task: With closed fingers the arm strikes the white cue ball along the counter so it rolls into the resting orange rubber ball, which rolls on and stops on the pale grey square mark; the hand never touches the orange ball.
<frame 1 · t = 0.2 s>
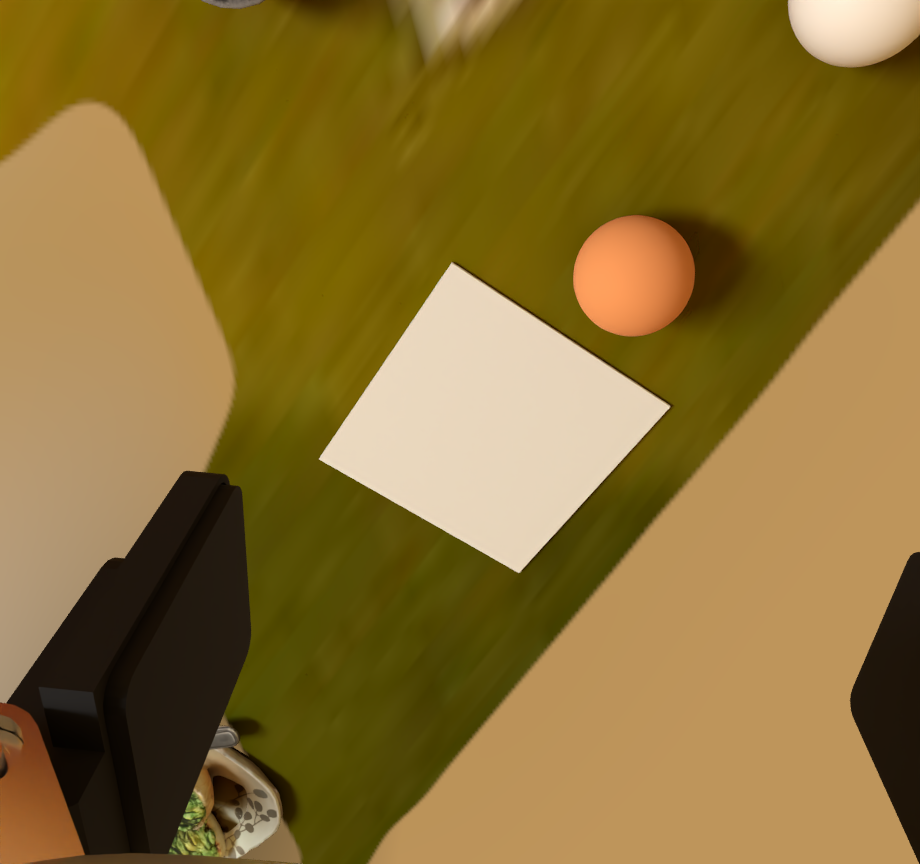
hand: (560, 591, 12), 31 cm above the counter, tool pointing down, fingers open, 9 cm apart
object ball: (633, 276, 38), on the counter
salad plate: (160, 784, 64), on the counter
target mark: (489, 432, 46), on the counter
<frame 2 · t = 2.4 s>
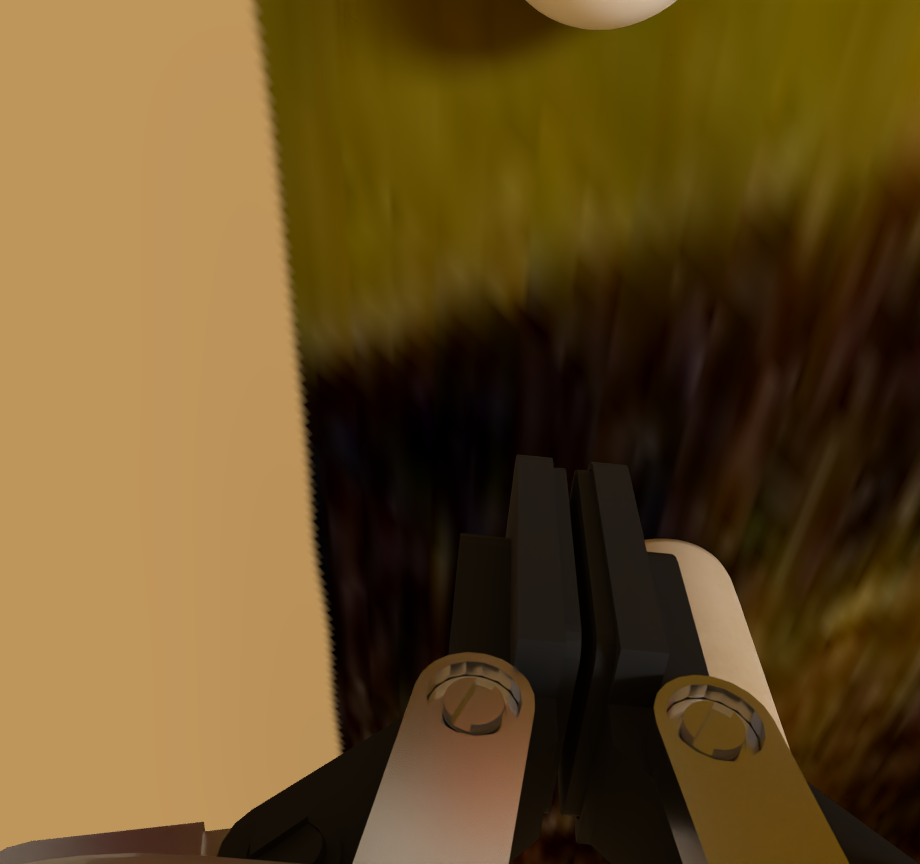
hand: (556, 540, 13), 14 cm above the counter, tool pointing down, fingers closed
candle: (656, 592, 31), on the counter
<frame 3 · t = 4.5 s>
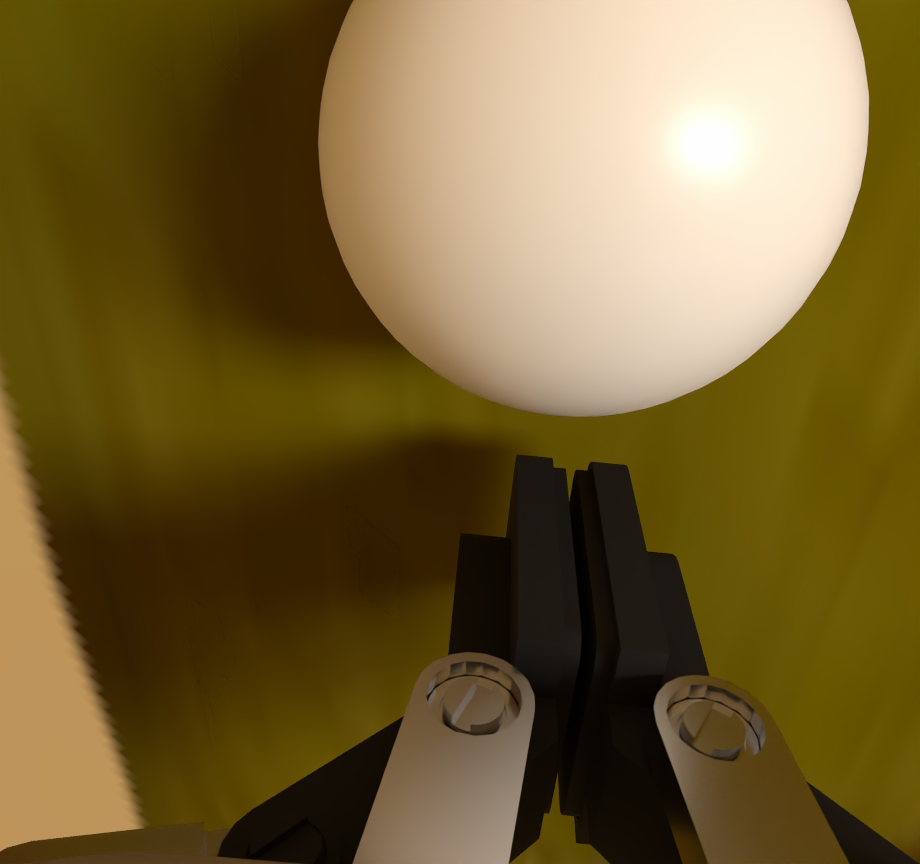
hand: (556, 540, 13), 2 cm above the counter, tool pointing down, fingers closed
cue ball: (580, 158, 9), on the counter
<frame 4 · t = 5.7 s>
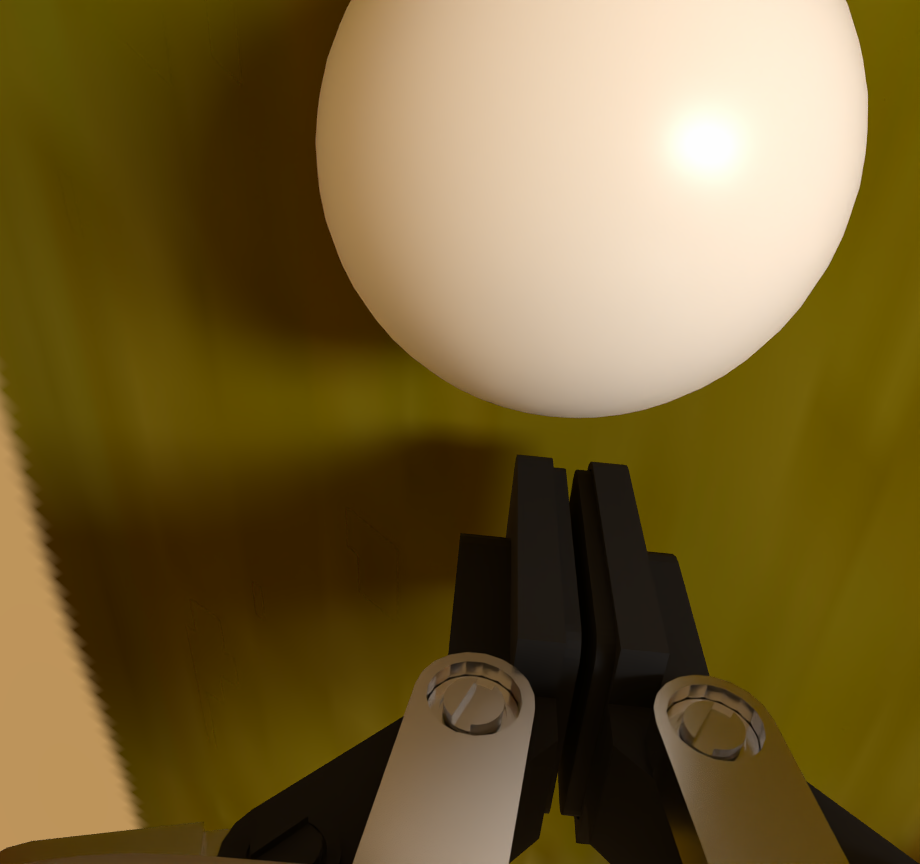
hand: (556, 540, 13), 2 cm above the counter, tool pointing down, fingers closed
cue ball: (578, 158, 9), on the counter
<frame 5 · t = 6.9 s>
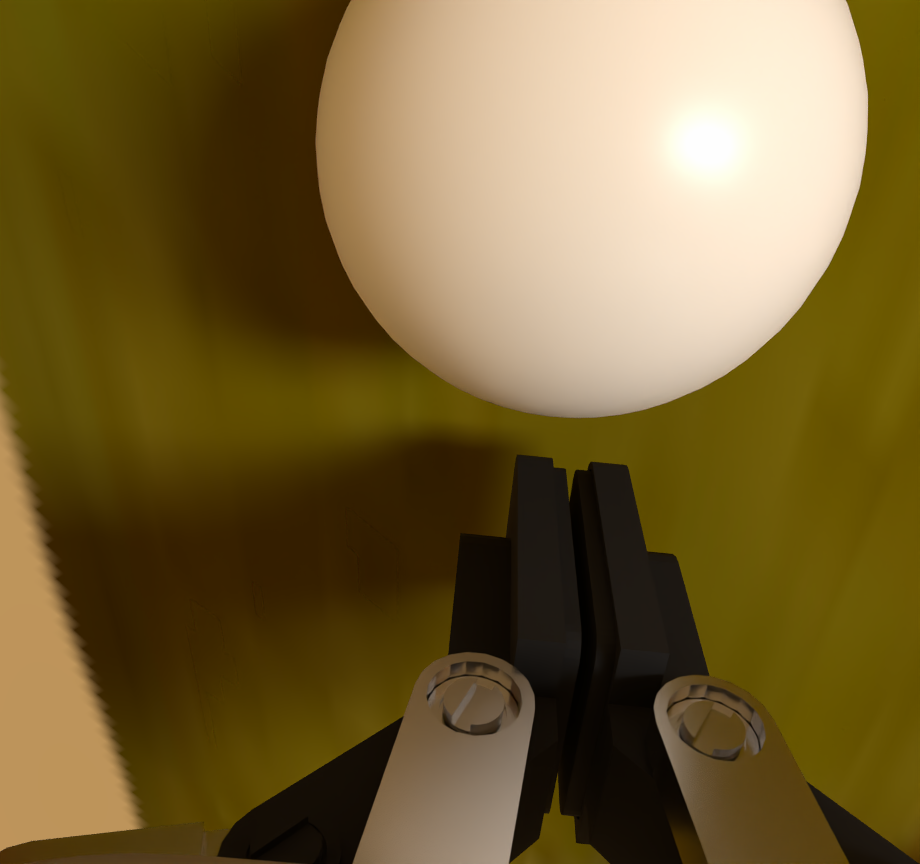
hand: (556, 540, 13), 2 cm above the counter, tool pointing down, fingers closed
cue ball: (578, 158, 9), on the counter
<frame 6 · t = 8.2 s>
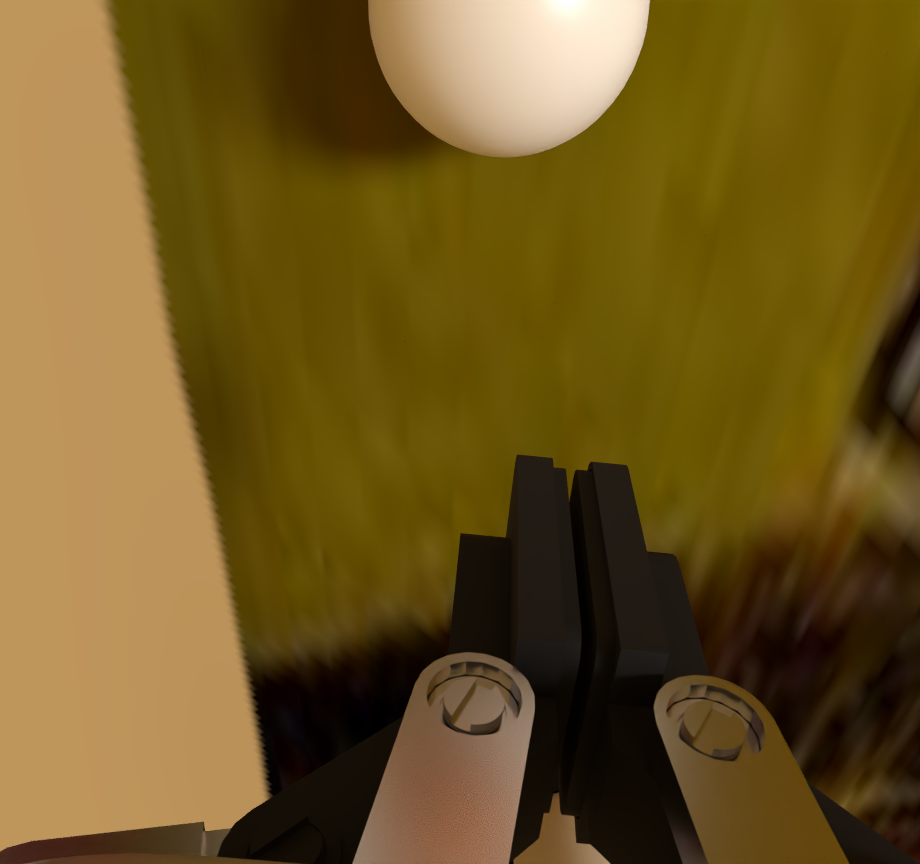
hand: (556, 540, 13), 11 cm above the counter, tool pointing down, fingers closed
candle: (577, 824, 35), on the counter
cue ball: (507, 10, 16), on the counter
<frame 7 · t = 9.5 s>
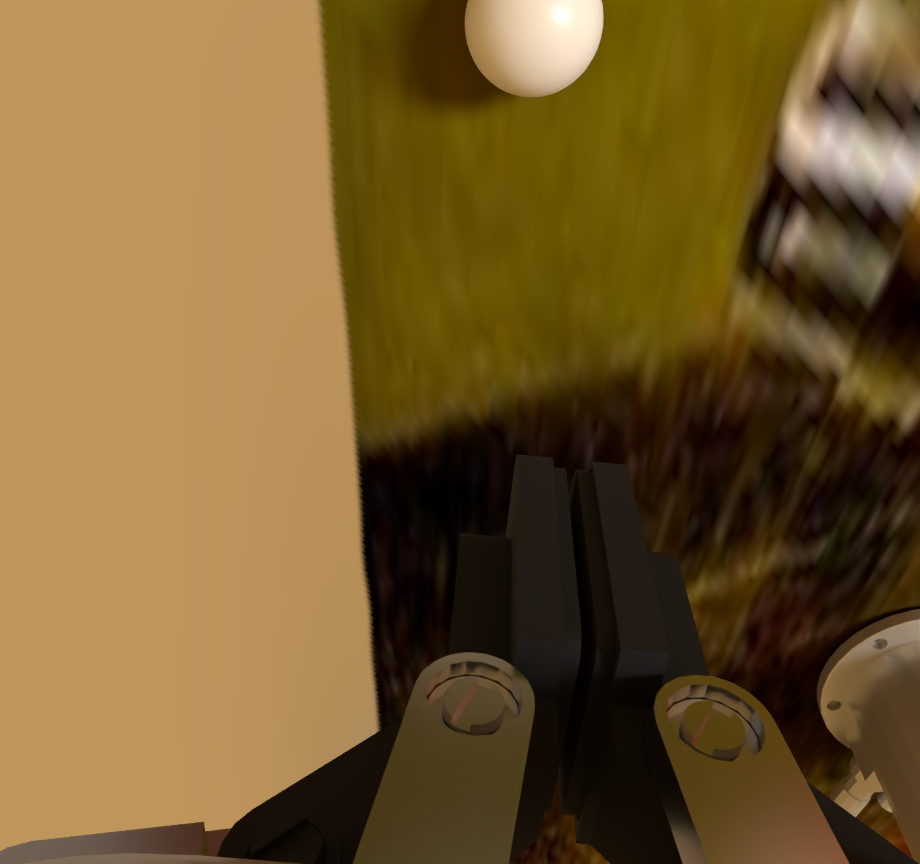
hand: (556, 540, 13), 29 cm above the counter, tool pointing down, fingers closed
cue ball: (533, 23, 33), on the counter
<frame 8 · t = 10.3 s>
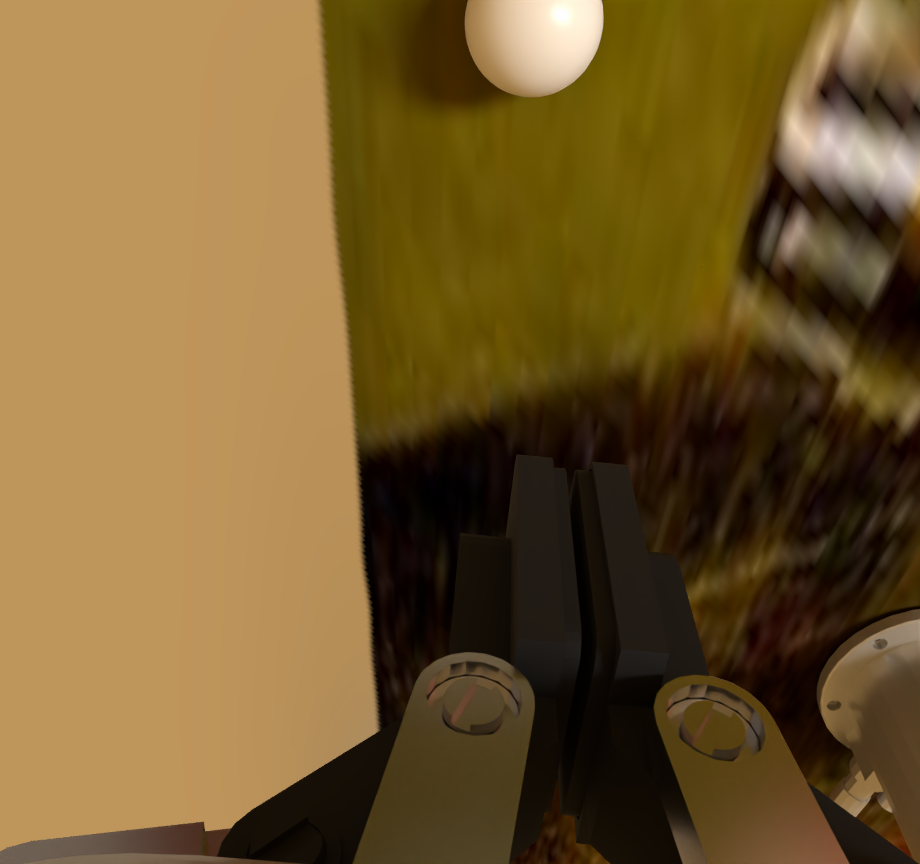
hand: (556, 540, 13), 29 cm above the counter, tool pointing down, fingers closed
cue ball: (533, 23, 33), on the counter
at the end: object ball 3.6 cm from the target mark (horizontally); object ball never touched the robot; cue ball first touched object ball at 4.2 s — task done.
